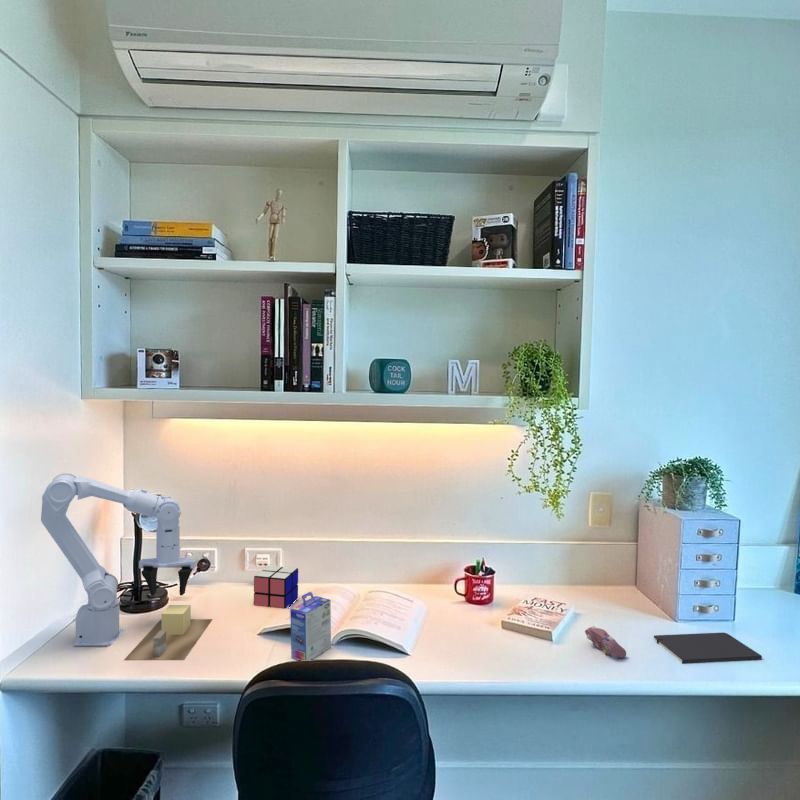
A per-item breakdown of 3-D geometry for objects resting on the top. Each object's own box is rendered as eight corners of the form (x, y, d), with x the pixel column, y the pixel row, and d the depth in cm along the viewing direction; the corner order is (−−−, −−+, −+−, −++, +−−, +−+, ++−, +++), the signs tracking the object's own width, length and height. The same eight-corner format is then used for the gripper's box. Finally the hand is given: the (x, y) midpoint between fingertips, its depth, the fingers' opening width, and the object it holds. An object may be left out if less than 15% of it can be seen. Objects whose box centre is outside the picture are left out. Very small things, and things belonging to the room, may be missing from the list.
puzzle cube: (285, 613, 158) (285, 579, 158) (253, 609, 160) (253, 576, 160) (298, 599, 168) (298, 567, 168) (268, 596, 170) (268, 564, 170)
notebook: (682, 665, 133) (761, 661, 136) (682, 659, 133) (762, 655, 136) (652, 641, 146) (725, 637, 148) (652, 635, 146) (725, 632, 148)
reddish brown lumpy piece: (588, 648, 143) (579, 627, 142) (601, 638, 144) (592, 617, 143) (616, 667, 134) (607, 644, 132) (629, 656, 135) (620, 633, 134)
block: (161, 634, 141) (161, 613, 141) (169, 625, 146) (169, 605, 146) (183, 634, 141) (183, 613, 141) (190, 625, 147) (190, 605, 146)
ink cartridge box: (315, 641, 141) (315, 586, 141) (332, 646, 139) (332, 590, 138) (288, 657, 133) (289, 599, 132) (306, 664, 130) (307, 604, 130)
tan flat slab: (123, 664, 128) (123, 641, 128) (161, 622, 150) (161, 603, 150) (184, 664, 129) (184, 641, 128) (212, 622, 151) (212, 603, 150)
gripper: (133, 548, 142) (133, 599, 143) (190, 548, 143) (190, 600, 143) (145, 540, 149) (145, 589, 150) (199, 540, 150) (199, 589, 150)
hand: (167, 594), depth 147 cm, fingers open, 7 cm apart
